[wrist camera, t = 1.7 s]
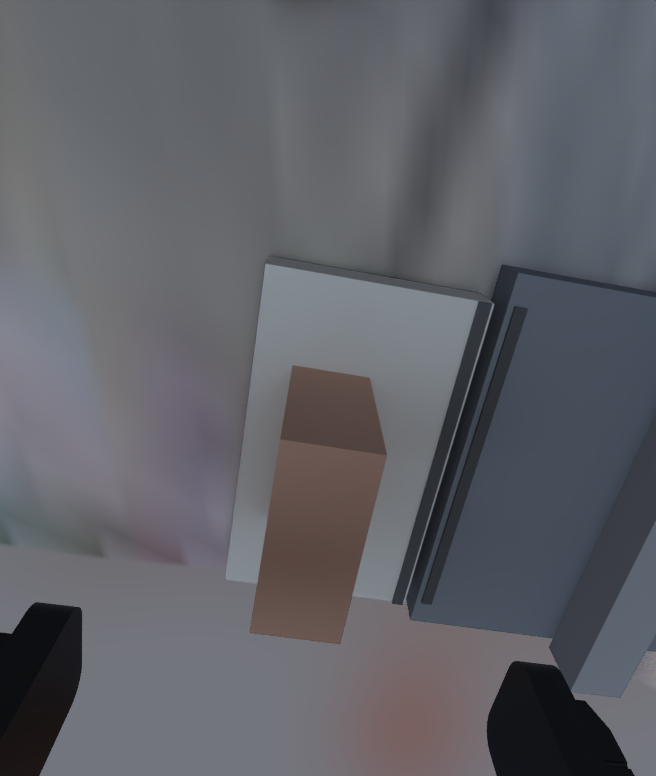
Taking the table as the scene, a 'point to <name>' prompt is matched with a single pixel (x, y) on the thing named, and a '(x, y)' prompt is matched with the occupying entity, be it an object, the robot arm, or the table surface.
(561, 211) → the table surface
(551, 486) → the grey plate with ridge
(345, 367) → the white plate with block
